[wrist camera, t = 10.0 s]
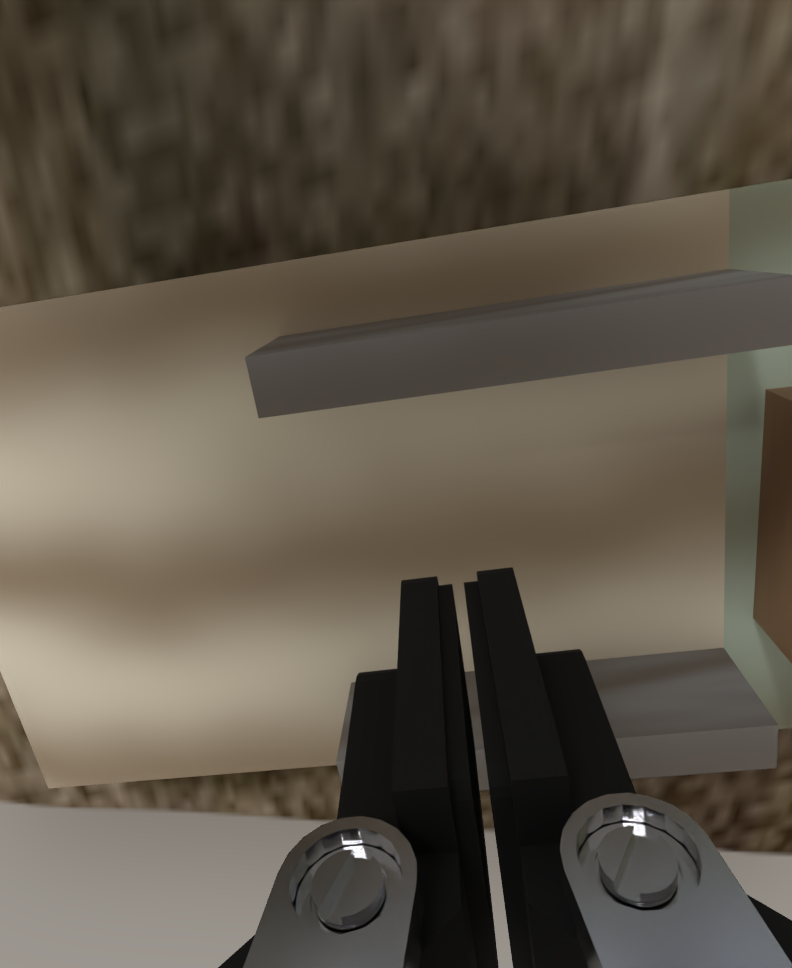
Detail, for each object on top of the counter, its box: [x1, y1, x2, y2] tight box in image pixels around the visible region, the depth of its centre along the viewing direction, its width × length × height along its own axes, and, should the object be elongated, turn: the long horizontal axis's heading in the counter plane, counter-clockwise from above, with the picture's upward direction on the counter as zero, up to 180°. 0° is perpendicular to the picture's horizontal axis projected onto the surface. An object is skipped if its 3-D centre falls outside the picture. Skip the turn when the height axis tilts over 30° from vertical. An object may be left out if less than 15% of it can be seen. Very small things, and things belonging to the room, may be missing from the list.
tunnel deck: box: [0, 179, 792, 790], centre depth 16 cm, size 14×36×6 cm, turn 99°
